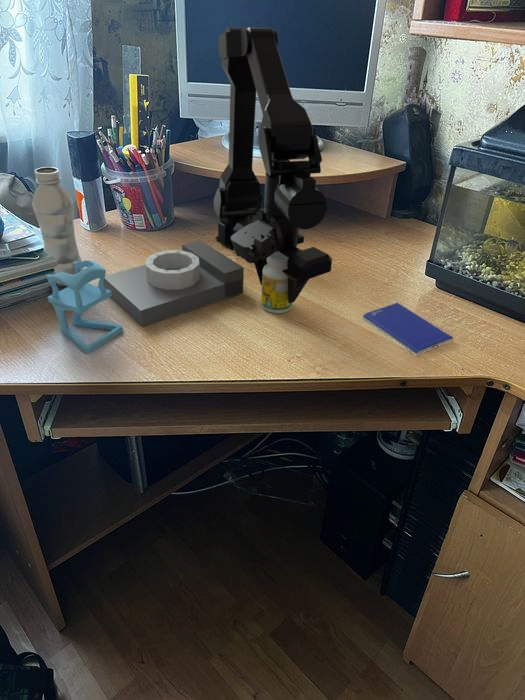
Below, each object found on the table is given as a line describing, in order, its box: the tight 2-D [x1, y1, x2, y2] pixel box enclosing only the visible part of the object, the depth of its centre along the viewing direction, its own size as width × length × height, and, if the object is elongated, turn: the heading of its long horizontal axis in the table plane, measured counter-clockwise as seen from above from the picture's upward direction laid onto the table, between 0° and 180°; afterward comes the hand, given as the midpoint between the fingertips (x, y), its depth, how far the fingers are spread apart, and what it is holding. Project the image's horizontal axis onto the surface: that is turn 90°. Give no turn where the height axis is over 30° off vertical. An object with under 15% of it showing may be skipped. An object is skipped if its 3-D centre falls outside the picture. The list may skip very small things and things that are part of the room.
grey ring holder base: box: [104, 239, 245, 328], centre depth 95 cm, size 20×14×6 cm
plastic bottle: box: [31, 166, 85, 287], centre depth 93 cm, size 6×7×20 cm
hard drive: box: [362, 302, 454, 356], centre depth 90 cm, size 2×8×12 cm
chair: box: [45, 259, 124, 354], centre depth 82 cm, size 8×8×12 cm
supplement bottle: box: [260, 252, 293, 314], centre depth 92 cm, size 5×5×10 cm
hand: (277, 293), depth 93 cm, fingers open, 7 cm apart
